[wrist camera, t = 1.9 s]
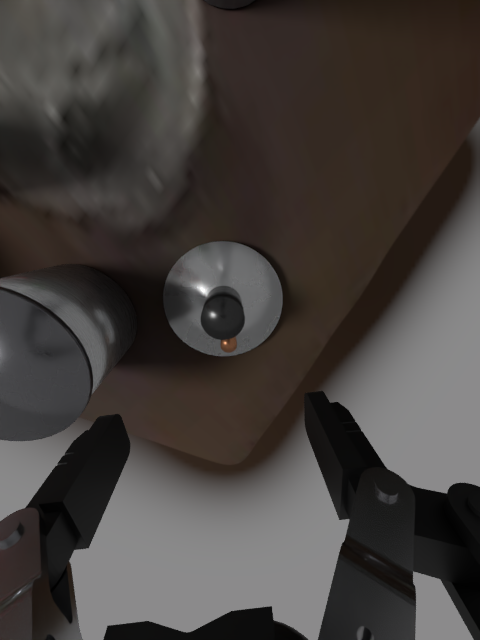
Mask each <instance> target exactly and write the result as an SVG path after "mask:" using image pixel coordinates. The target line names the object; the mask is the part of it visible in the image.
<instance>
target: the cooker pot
mask: <svg viewBox="0 0 480 640" xmlns="http://www.w3.org/2000/svg"><path fill="white" fill-rule="evenodd" d="M136 332H137V317H136V313H135V309H134V307H133V304H132V302H131V300H130V299H129V297H128V295H127V294H126V293H125V291H124V290H123V289H122V288H121V287H120V286H119V285H118V284H117V283H116V282H115V281H114V280H112V279H111V278H110V277H108V276H107V275H105V274H103V273H102V272H100V271H97V270H95V269H93V268H90V267H87V266H82V265H75V264H63V265H58V266H53V267H48V268H44V269H39V270H35V271H30V272H26V273H21V274H17V275H12V276H8V277H3V278H0V440H8V441H30V440H36V439H42V438H46V437H49V436H52V435H54V434H57V433H59V432H61V431H62V430H64V429H66V428H67V427H69V426H70V425H71V424H72V423H73V422H75V420H76V419H77V418H78V417H79V416H80V415H81V413H82V412H83V411H84V409H85V408H86V406H87V404H88V403H89V400H90V397H91V395H92V393H93V392H94V391H95V390H96V389H97V387H98V386H99V385H100V384H101V382H102V381H103V380H104V379H105V378H106V376H107V375H108V374H109V373H110V371H111V370H112V369H113V368H114V367H115V365H116V364H117V363H118V362H119V360H120V359H121V358H122V357H123V356H124V354H125V353H126V352H127V351H128V349H129V348H130V347H131V345H132V343H133V341H134V339H135V336H136Z"/></svg>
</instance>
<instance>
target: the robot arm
mask: <svg viewBox="0 0 480 640" xmlns="http://www.w3.org/2000/svg"><path fill="white" fill-rule="evenodd" d="M204 1H205V2H207V3H209V4H211V5H214V6H217V7H220V8H228V9H235V8H239V7H243V6H247V5H249V4H250V3H252V2H254V1H255V0H204ZM304 406H305V407H304V408H305V427H306V432H307V435H308V438H309V441H310V443H311V446H312V449H313V451H314V454H315V457H316V459H317V462H318V465H319V467H320V470H321V472H322V475H323V477H324V480H325V483H326V485H327V488H328V491H329V493H330V496H331V499H332V501H333V504H334V507H335V509H336V512H337V515H338V517H339V520H342V519H350V521H349V525H348V529H347V534H346V538H345V541H344V542H343V543H342V546H341V549H340V552H339V556H338V561H337V564H336V569H335V572H334V576H333V581H332V585H331V589H330V593H329V597H328V601H327V605H326V609H325V613H324V617H323V621H322V625H321V629H320V633H319V637H318V640H415V620H416V591H415V586H414V584H413V571H414V572H418V573H421V574H425V575H428V576H432V577H435V578H439V579H441V581H442V583H443V585H444V586H445V588H446V590H447V592H448V594H449V595H450V597H451V599H452V601H453V603H454V605H455V606H456V608H457V610H458V612H459V614H460V615H461V617H462V619H463V621H464V623H465V624H466V626H467V628H468V630H469V631H470V633H471V635H472V637H473V639H474V640H480V487H478V486H476V485H472V484H468V483H456V484H453V485H452V486H451V487H450V488H449V489H448V493H447V494H446V493H441V492H436V491H431V490H426V489H421V488H416V487H414V486H411V485H408V484H407V483H406V481H405V480H404V479H402V478H401V477H400V476H399V475H397V474H396V473H394V472H392V471H390V470H388V469H387V468H386V467H385V466H384V464H383V462H382V461H381V459H380V458H379V456H378V455H377V453H376V452H375V450H374V449H373V447H372V446H371V444H370V443H369V441H368V439H367V438H366V437H365V435H364V433H363V432H362V431H361V429H360V427H359V426H358V424H357V423H356V422H355V420H354V418H353V417H352V415H351V414H350V412H349V410H347V409H346V408H345V407H344V406H342V405H341V404H340V403H338V402H334V403H330V402H329V400H328V399H327V397H326V395H325V393H324V392H323V391H318V392H310V393H305V397H304ZM129 453H130V440H129V438H128V435H127V432H126V429H125V426H124V423H123V420H122V418H121V416H120V415H119V414H115V415H106V416H100V417H98V418H97V419H96V421H95V422H94V424H93V425H92V427H91V428H90V429H89V430H87V431H85V432H84V433H83V434H81V435H80V436H79V437H78V438H77V439H76V440H74V441H73V443H72V444H71V446H70V447H69V448H68V450H67V451H66V453H65V456H63V457H62V458H61V460H60V461H59V462H58V465H57V466H56V467H55V468H54V469H53V470H52V472H51V473H50V475H49V476H48V477H47V479H46V480H45V482H44V483H43V484H42V486H41V487H40V488H39V490H38V491H37V493H36V494H35V495H34V497H33V498H32V500H31V501H30V502H29V504H28V505H27V506H26V508H24V509H21V510H18V511H16V512H14V513H12V514H10V515H9V516H7V517H6V518H4V519H3V520H2V521H0V640H83V639H82V637H81V633H80V629H79V623H78V615H77V607H76V600H75V592H74V584H73V577H72V569H71V564H70V562H69V560H70V558H71V555H72V553H73V551H74V550H76V549H86V548H89V546H90V544H91V541H92V539H93V537H94V534H95V532H96V530H97V527H98V525H99V523H100V521H101V518H102V516H103V514H104V511H105V509H106V507H107V505H108V502H109V500H110V497H111V495H112V493H113V491H114V488H115V486H116V484H117V482H118V479H119V477H120V475H121V472H122V470H123V468H124V465H125V463H126V461H127V458H128V456H129ZM104 640H308V639H307V638H306V637H305V636H304V635H302V634H301V633H299V632H298V631H297V630H295V629H294V628H292V627H290V626H288V625H286V624H284V623H280V622H277V621H274V620H273V613H272V607H262V608H254V609H245V610H237V611H231V612H229V613H227V614H225V615H223V616H221V617H219V618H217V619H215V620H214V621H211V622H210V623H208V624H206V625H204V626H202V627H200V628H198V629H196V630H194V631H192V632H188V633H186V632H181V631H178V630H175V629H172V628H169V627H165V626H162V625H159V624H156V623H153V622H149V621H145V622H136V623H128V624H120V625H111V626H107V630H106V633H105V636H104Z"/></svg>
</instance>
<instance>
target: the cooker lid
mask: <svg viewBox="0 0 480 640" xmlns="http://www.w3.org/2000/svg"><path fill="white" fill-rule="evenodd" d="M282 304H283V295H282V288H281V284H280V281H279V278H278V276H277V274H276V272H275V270H274V269H273V267H272V266H271V265H270V263H269V262H268V261H267V260H266V259H265V258H264V257H263V256H262V255H260V254H259V253H258V252H256V251H255V250H253V249H252V248H250V247H248V246H245V245H243V244H240V243H236V242H231V241H214V242H209V243H205V244H202V245H199V246H197V247H195V248H193V249H192V250H190V251H189V252H187V253H186V254H184V255H183V256H182V257H181V258H180V259H179V260H178V261H177V262H176V263H175V265H174V266H173V267H172V269H171V271H170V272H169V275H168V277H167V279H166V282H165V286H164V292H163V305H164V311H165V314H166V317H167V320H168V322H169V324H170V326H171V327H172V329H173V331H174V332H175V333H176V334H177V336H178V337H179V338H180V339H181V340H182V341H183V342H185V343H186V344H187V345H189V346H190V347H192V348H194V349H195V350H198V351H200V352H202V353H206V354H209V355H214V356H233V355H238V354H241V353H245V352H247V351H249V350H252V349H253V348H255V347H257V346H258V345H259V344H261V343H262V342H263V341H264V340H265V339H266V338H267V337H268V336H269V335H270V334H271V333H272V331H273V330H274V328H275V326H276V325H277V323H278V320H279V318H280V314H281V311H282Z"/></svg>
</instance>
